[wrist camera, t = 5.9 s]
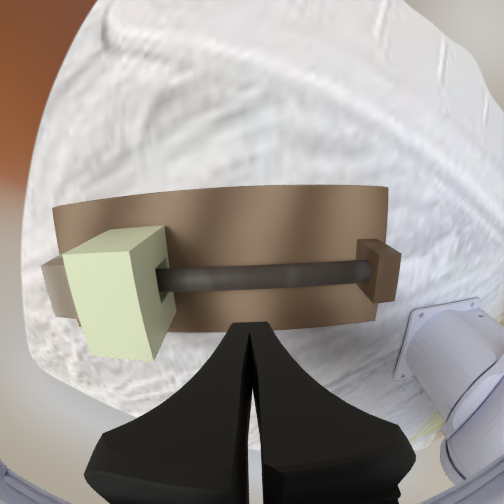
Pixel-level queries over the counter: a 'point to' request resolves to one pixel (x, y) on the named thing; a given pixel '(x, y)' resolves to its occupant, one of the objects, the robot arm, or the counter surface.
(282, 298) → the cord board
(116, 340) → the sleeve
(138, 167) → the counter surface
